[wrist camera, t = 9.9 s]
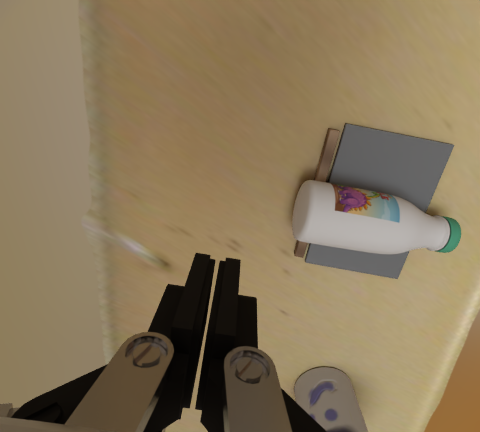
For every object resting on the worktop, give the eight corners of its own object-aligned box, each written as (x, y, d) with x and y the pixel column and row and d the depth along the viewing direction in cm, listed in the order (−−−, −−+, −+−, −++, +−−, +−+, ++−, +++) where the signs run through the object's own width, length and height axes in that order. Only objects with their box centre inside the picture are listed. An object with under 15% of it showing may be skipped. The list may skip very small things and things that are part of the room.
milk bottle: (286, 231, 45) (422, 253, 47) (300, 249, 37) (460, 275, 39) (299, 175, 43) (438, 201, 45) (316, 182, 36) (482, 213, 38)
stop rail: (328, 128, 42) (330, 129, 40) (337, 130, 42) (340, 131, 40) (293, 252, 48) (294, 256, 47) (301, 253, 48) (303, 257, 47)
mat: (345, 123, 41) (346, 123, 41) (451, 144, 42) (454, 145, 41) (304, 260, 48) (305, 262, 48) (395, 276, 49) (397, 279, 48)
